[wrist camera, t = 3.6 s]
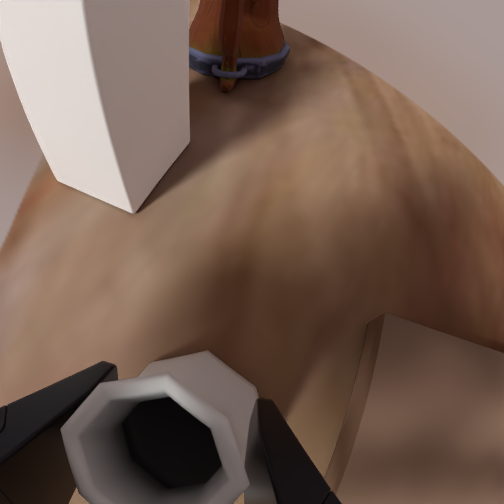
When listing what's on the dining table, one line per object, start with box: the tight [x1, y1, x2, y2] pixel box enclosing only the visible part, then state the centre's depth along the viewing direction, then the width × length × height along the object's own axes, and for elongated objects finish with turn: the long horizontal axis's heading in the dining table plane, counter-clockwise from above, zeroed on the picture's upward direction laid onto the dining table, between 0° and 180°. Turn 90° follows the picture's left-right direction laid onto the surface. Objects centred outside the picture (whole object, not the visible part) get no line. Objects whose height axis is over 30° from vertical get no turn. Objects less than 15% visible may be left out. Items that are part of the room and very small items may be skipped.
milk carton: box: [0, 0, 190, 214], centre depth 11 cm, size 7×7×19 cm
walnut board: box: [324, 313, 504, 504], centre depth 11 cm, size 16×16×2 cm
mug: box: [189, 0, 290, 92], centre depth 20 cm, size 18×12×15 cm, turn 177°
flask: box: [60, 350, 259, 504], centre depth 8 cm, size 7×7×10 cm
